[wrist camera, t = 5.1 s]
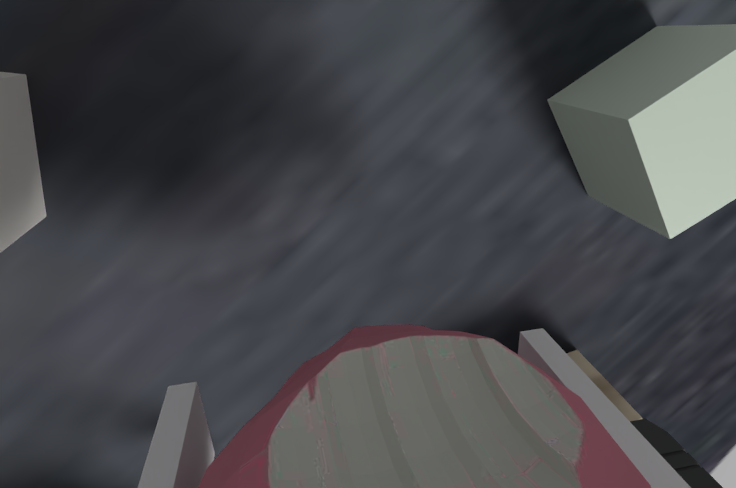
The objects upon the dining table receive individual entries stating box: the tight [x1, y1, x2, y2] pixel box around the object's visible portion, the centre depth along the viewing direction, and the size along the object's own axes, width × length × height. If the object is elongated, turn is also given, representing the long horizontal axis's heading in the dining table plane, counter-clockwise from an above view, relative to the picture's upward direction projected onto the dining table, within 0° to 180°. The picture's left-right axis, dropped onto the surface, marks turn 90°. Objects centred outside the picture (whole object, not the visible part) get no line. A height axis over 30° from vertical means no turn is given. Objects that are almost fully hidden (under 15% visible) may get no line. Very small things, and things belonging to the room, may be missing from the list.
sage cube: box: [547, 24, 736, 239], centre depth 18 cm, size 5×5×5 cm
